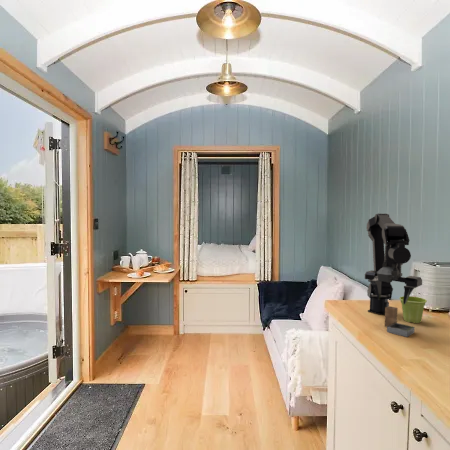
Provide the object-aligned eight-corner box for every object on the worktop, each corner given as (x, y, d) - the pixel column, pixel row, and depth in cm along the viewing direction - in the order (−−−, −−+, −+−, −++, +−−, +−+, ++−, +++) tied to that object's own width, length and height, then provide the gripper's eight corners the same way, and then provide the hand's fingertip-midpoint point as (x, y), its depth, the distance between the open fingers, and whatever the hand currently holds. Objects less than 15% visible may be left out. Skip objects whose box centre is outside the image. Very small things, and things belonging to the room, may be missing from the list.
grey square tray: (386, 332, 127) (387, 326, 126) (394, 327, 131) (394, 322, 131) (407, 337, 122) (407, 331, 122) (414, 332, 126) (414, 327, 126)
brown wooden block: (384, 326, 133) (385, 307, 133) (388, 324, 135) (388, 306, 135) (393, 328, 131) (394, 309, 130) (396, 326, 133) (397, 307, 132)
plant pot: (410, 325, 134) (411, 302, 134) (393, 318, 143) (394, 296, 143) (431, 324, 136) (432, 301, 136) (413, 316, 145) (414, 295, 145)
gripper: (358, 258, 133) (357, 300, 134) (412, 265, 119) (410, 311, 120) (371, 255, 141) (370, 295, 141) (423, 261, 127) (421, 305, 128)
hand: (391, 301), depth 132 cm, fingers open, 9 cm apart
